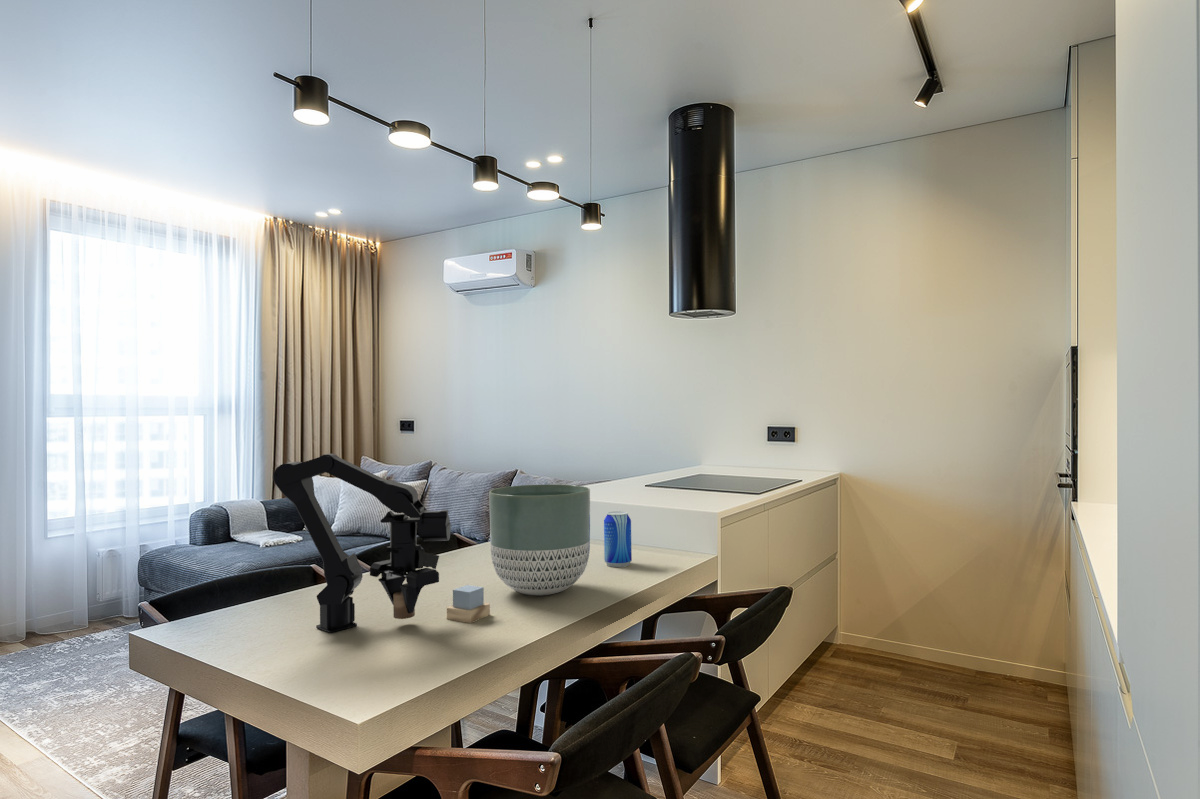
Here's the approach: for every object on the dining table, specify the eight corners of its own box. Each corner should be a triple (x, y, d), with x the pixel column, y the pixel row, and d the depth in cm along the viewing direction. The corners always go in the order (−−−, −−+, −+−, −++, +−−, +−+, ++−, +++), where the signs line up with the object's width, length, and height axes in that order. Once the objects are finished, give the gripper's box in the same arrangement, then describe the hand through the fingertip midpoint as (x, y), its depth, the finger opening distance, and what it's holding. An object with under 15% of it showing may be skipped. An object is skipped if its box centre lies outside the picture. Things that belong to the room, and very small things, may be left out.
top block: (469, 609, 156) (469, 592, 156) (452, 607, 158) (452, 589, 159) (483, 604, 160) (483, 587, 160) (467, 601, 163) (467, 584, 163)
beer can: (601, 563, 214) (600, 511, 214) (626, 560, 216) (625, 510, 217) (609, 568, 206) (608, 515, 206) (635, 566, 208) (634, 514, 209)
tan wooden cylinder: (401, 620, 151) (401, 597, 151) (389, 616, 154) (389, 594, 154) (418, 615, 154) (418, 592, 154) (406, 611, 157) (406, 589, 157)
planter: (607, 584, 187) (606, 486, 188) (561, 610, 163) (560, 497, 164) (524, 576, 198) (522, 483, 199) (469, 599, 174) (468, 493, 175)
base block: (470, 624, 155) (470, 611, 155) (446, 620, 158) (446, 607, 158) (489, 616, 161) (489, 603, 161) (466, 612, 164) (466, 600, 164)
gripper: (458, 540, 154) (459, 609, 154) (409, 532, 166) (409, 596, 166) (416, 548, 146) (417, 622, 146) (368, 539, 158) (368, 607, 157)
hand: (404, 611), depth 154 cm, fingers closed on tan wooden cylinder, 5 cm apart
